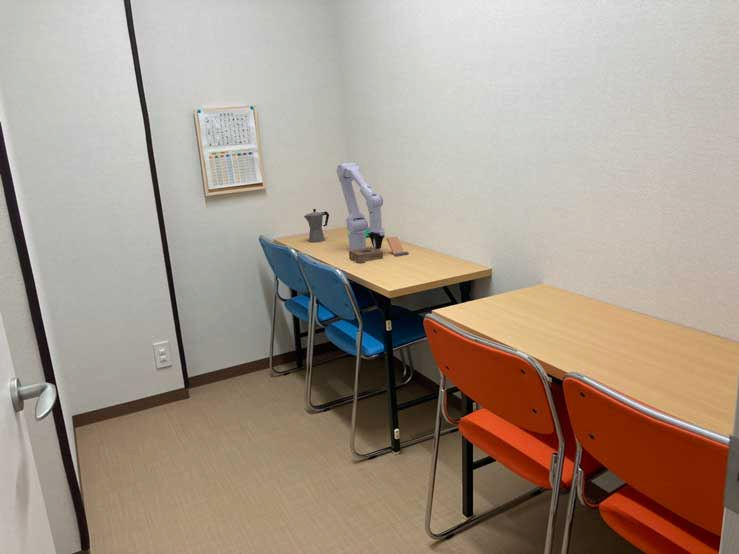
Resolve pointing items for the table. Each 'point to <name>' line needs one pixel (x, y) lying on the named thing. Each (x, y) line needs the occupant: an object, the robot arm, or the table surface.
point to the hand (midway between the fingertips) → (376, 247)
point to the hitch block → (365, 254)
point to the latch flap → (395, 245)
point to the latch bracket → (401, 254)
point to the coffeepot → (316, 225)
